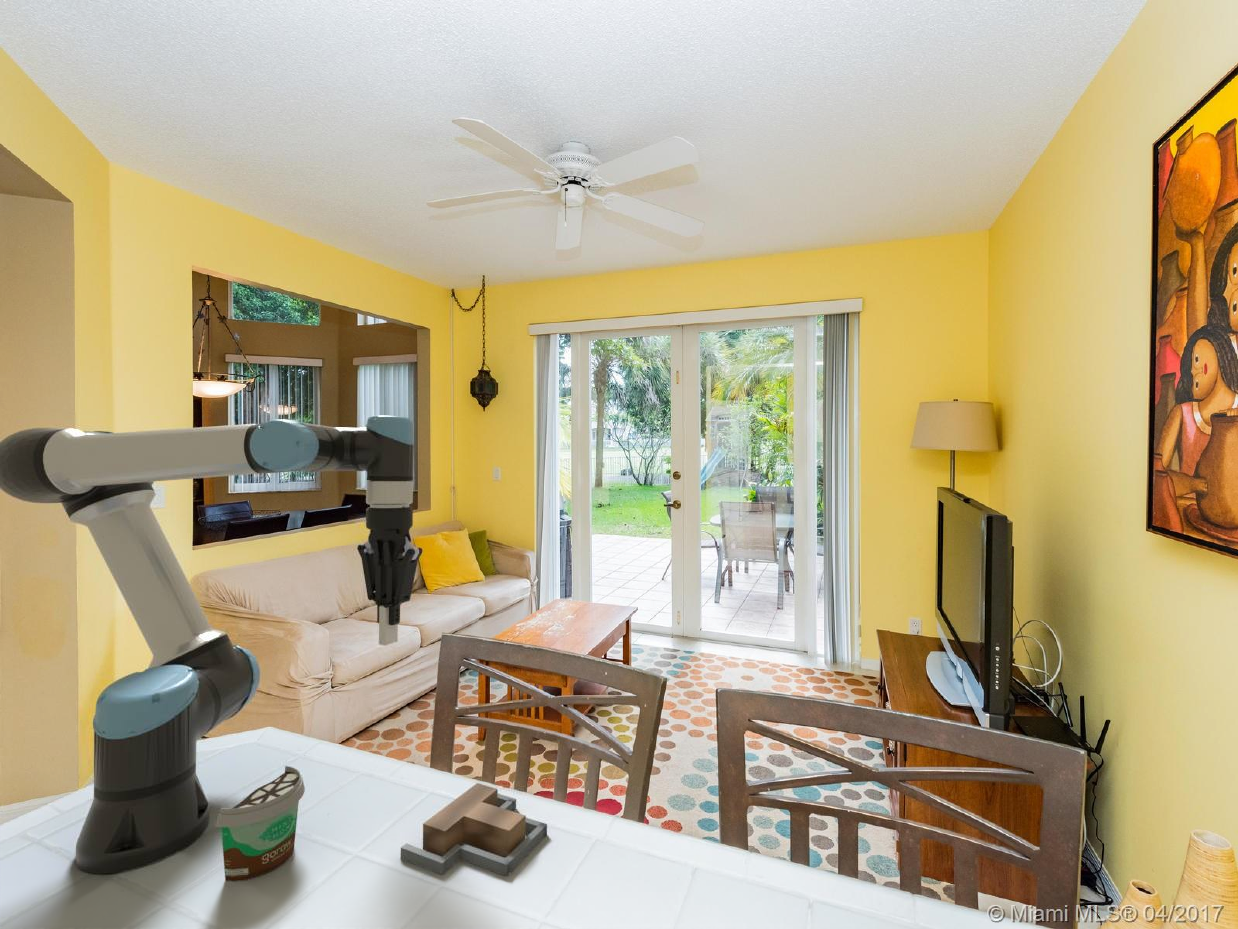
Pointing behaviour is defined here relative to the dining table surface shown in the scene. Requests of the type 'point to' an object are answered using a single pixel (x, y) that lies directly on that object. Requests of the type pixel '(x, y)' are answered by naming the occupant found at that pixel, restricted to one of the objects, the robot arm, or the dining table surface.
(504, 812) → the t block
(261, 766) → the dining table surface
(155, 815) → the robot arm
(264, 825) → the food container
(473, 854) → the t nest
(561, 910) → the dining table surface
